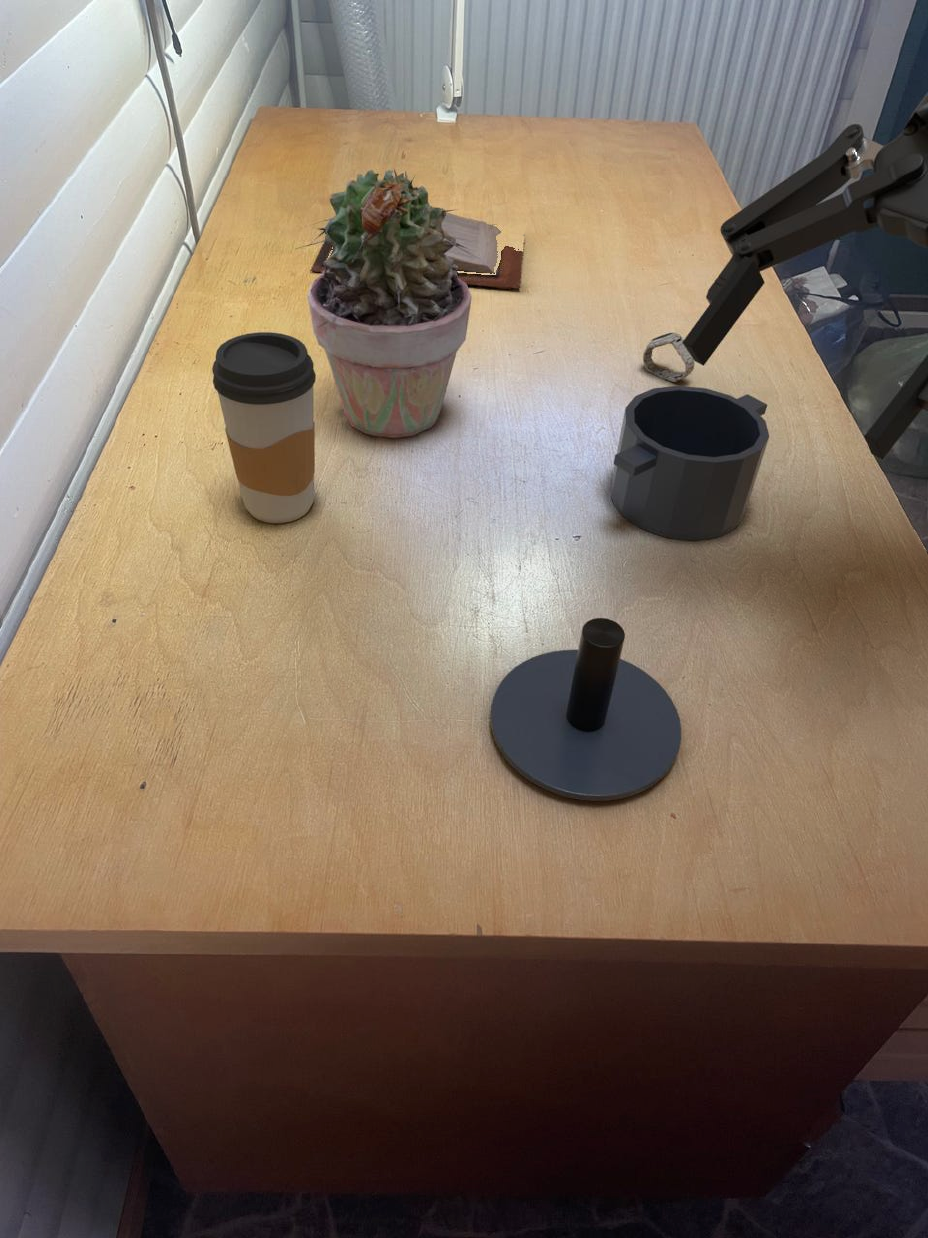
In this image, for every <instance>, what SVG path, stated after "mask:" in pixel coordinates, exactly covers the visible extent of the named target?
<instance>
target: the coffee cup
mask: <svg viewBox="0 0 928 1238" xmlns="http://www.w3.org/2000/svg"><path fill="white" fill-rule="evenodd" d="M314 367H315V364H314V361H313V359H312V356H311V355H310V354H309V353H308V349H307V347H306V345H305V343H303V342H302V341H301V340H300V339H298V338H295V337H294V336H291V335H288V334H284V333H280V332H279V333H278V332H270V331H267V332H264V331H263V332H260V331H258V332H251V333H244V334H241V335H237V336H235V337H232V338H230V339H228V340H226V341H225V342H223V343H221V344H220V346H219V347H218V348H217V349H216V353H215V360H214V362H213V364H212V368H211V369H212V371H211V372H212V375H213V378H212V384H213V386H214V389H215V390H216V391H217V395H218V396H217V397H218V401H219V404H220V409H221V412H222V417H223V421H224V425H225V428H224V429H225V430H224V431H225V434H226V439H227V443H228V447H229V452H230V456H231V460H232V464H233V468H234V473H235V476H236V479H237V482H238V485H239V489H240V494H241V499H242V502H243V505H244V508H245V509H246V511H248V513H249V514H250V515H251V516H252V517H254V519H256V520H258V521H261V522H263V523H267V524H268V523H269V524H285V523H290V522H293V521H296V520H298V519H300V518H303V517H304V516H305V515H306V514H307V513H308V512H309V511H310V509H311V507H312V505H313V503H314V501H315V473H316V472H315V470H316V469H315V468H316V452H315V451H316V448H315V446H316V443H315V441H316V439H315V438H316V435H315V434H316V433H315V432H316V431H315V430H316V429H315V426H316V425H315V424H316V423H315V419H314V418H315V417H314V416H315V415H314V414H315V413H314V411H315V410H314V409H315V407H314V406H315V405H314V385H315V383H316V380H317V379H316V378H317V374H316V372H315V369H314Z"/></svg>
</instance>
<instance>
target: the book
mask: <svg viewBox="0 0 928 1238" xmlns="http://www.w3.org/2000/svg"><path fill="white" fill-rule="evenodd" d="M493 225H494V224H492V225H491V223H487V222H485V221H483V220H478V219H472V218H467V217H464V216H460V215H457V214H453V213H450V212H446V217H445V218H444V220H443V221H442V226H441V227H442V230H444V231H447V233H448V235H450V236H451V237H452V238H453V237H456V238H454V239H456V243H458V244H460V245H462V246H464V247H466V248H463V247H459V246H458V247H459V248H458V247H456V246H453V247H452V248H451V249H450V250H448V251H447V252H446V253H444V254H445V255H446V256H448V257H449V258H451V259H452V260H454V262H453V264H455V265H456V266H457V267H458V268H457V271H464V272H476V273H490V274H492V273H493V274H495V272H494V267H495V266H496V263H497V258H498V256H497V255H498V254H497V253H498V251H497V247H498V246H497V244H498V243H497V240H496V236H497V235H498V234H500V233H501V231H500V230H499V229H498V228H497V227H495V226H493ZM458 238H460V239H458ZM463 239H465V240H463ZM468 240H469V241H468ZM473 241H474V242H473ZM523 244H524V245H525V242H524V243H523ZM320 247H321V248H320V250H319V252H318V254H317V255H316V258H315V259H314V262H313V264H312V266H311V267H310V269H309V271H310V272H316V273H321V272H323V271H324V270H326V266H324V264H323V262H325V261H326V260H327V258H328V256H329V253H330V251H328V250H330V249H332V247H333V246H331V245H330V244H328V243H327V242H326V241H325V242H323V243H322V246H320ZM460 248H461V249H460ZM467 248H468V249H467ZM462 249H463V250H462ZM514 249H515V248H513V247H509V246H505V247H504V249H503V250H502V251H501V260H500V263H499V266H498V268H497V270H496V275H481V274H467V273H460V274H459V273H457V276H458V278H459V279H461V280H462V281H463V282H465V283H466V284H467V285H474V286H479V287H487V288H495V289H501V290H506V291H508V290H511V289H521V283H522V281H521V280H522V273H523V271H522V270H523V260H524V253H525V251H523V252H522V251H516V250H514ZM464 250H465V251H464ZM472 250H473V251H472ZM518 250H519V249H518ZM325 251H326V252H325ZM466 251H467V252H469V253H470V254H469V253H467V252H466ZM475 251H476V252H475ZM322 252H323V253H322ZM334 252H335V250H333V251H332V253H331V255H332V254H333V253H334ZM471 254H472V255H471ZM331 255H330V256H331ZM473 255H474V256H473ZM475 256H476V257H475ZM478 258H479V259H478ZM480 259H481V260H480ZM485 262H486V263H485ZM461 274H462V275H461Z"/></svg>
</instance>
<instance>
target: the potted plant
mask: <svg viewBox="0 0 928 1238" xmlns="http://www.w3.org/2000/svg"><path fill="white" fill-rule="evenodd" d="M393 172H394V175H393ZM379 175H380V173H375V172H374V170H373V169H372V170H368V171H367V172H366V173H365V174H364V176H363V174H361V173H357V175H356V180H354V179H353V180H350V181H349V182H348V183H346V188H345V190H344V191H339V192H336V193H332V194H330V197H329V204H330V205H331V207H332V209H333V211H334V213H335V215H334V216H333V217H331V218H328V219H324V220H322V221H319V222H316V223H312V224H310V225H306V226H304V227H302V229H303V228H304V229H305V228H306V227H310V226H313V225H316V224H319V223H322V222H326V221H328V222H327V223H326V224H325V226H323V227H322V228H321V227H319V228H318V230H320V231H322V232H320V234H318V236H316V238H315V240H317V239H318V238H319V237H321V236H322V235H325V236H324V240H320V241H317V242H314V243H313V242H312V243H310V244H307V245H303V246H300V247H295V250H298V249H303V248H305V247H310V246H313V245H317V244H321V243H324V242H325V241H326V242H327V243H328V244H330V245H331V246H333V249H330V250H328V251H331V250H335V252H334V253H333V254H332V255H331V256H330V257H329V258H328V259H327V260H326V261H325V262H323V264H324V266H326V270H324V271H323V272H320V275H319V276H318V277H316V278H315V279H314V280H313V282H312V283H311V284H310V287H309V291H308V295H307V300H308V306H309V313H310V320H311V325H312V326H311V327H312V331H313V334H314V337H315V339H316V341H317V344H318V345H319V347H321V348H322V349H323V350H324V353H325V355H326V359H327V361H328V364H329V367H330V370H331V374H332V377H333V380H334V383H335V386H336V390H337V393H338V396H339V400H340V401H341V405H342V409H343V412H344V414H345V418H346V419H347V421H348V422H349V424H350V426H351V427H352V428H354V429H355V430H357V431H359V432H362V433H363V434H365V435H368V436H371V437H378V438H387V439H401V438H402V439H403V438H410V437H415V436H417V435H418V434H420V433H422V432H425V431H427V430H429V429H432V427H433V426H435V424H436V423H437V420H438V418H439V415H440V413H441V409H442V407H443V402H444V399H445V397H446V392H447V389H448V385H449V382H450V378H451V374H452V371H453V368H454V364H455V359H456V356H457V353H458V351H459V350H460V348H462V345H463V344H464V343H465V341H466V340H467V333H468V325H469V319H470V311H471V304H472V299H473V295H472V294H471V291H470V289H469V287H468V284H466V283H465V282H463V281H462V280H461V279H459V278H458V276H457V273H458V272H457V268H458V267H457V266H456V265H455V264H453V262H454V260H452V259H451V258H449V257H448V256H446V255H445V254H444V253H446V252H447V251H448V250H450V249H451V248H452V247H453V246H456V247H458V246H459V247H463V248H466V247H464V246H462V245H460V244H458V243H456V239H454V238H456V237H453V238H452V237H451V236H450V235H448V233H447V231H444V230H442V227H441V226H442V221H443V220H444V218H445V217H446V212H447V213H449V212H452V211H454V209H447V210H446V209H445V208H443V207H435V206H432V205H431V204H430V203H429V191H428V190H427V188H426V187H425V186H423V185H421V186H419V187H417V186H415V187H414V186H413V181H414V178H415V177H416V176H417V174H415V175H413V177H412V179H411V180H410V179H409V178H408V174H407V171H406V170H404V172H402V173H400V174H397V171H396V169H395V168H393V170H391V169H387V170H385V172H384V176H383V178H382V179H379V178H378V177H379ZM394 176H395V177H394ZM457 210H459V209H456V211H457ZM298 230H300V228H299V229H298ZM458 239H460V238H458ZM463 240H465V239H463ZM468 241H469V240H468ZM473 242H474V241H473ZM459 247H458V248H459ZM460 249H461V248H460ZM467 249H468V248H467ZM462 250H463V249H462ZM464 251H465V250H464ZM472 251H473V250H472ZM325 252H326V251H325ZM466 252H467V251H466ZM475 252H476V251H475ZM301 253H302V252H301ZM301 253H300V254H299V255H301ZM322 253H323V252H322ZM467 253H469V252H467ZM469 254H470V253H469ZM299 255H297V257H298V256H299ZM471 255H472V254H471ZM473 256H474V255H473ZM297 257H296V259H297ZM475 257H476V256H475ZM478 259H479V258H478ZM480 260H481V259H480ZM485 263H486V262H485ZM459 274H460V273H459ZM461 275H462V274H461Z"/></svg>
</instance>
